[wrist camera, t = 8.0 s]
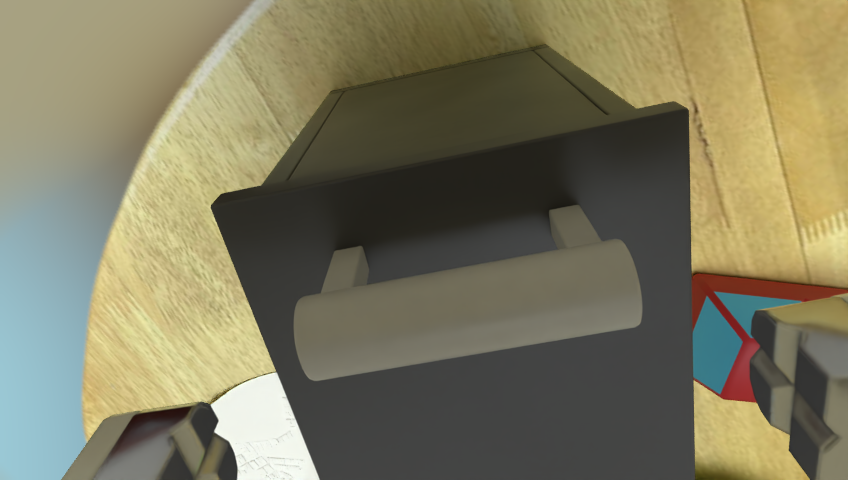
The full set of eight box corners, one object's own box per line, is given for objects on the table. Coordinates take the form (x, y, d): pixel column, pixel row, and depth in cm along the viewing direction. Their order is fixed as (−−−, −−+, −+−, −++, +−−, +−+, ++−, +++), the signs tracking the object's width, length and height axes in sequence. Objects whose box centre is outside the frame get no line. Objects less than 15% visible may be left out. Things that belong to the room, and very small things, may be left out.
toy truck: (691, 270, 33) (750, 340, 27) (946, 298, 33) (1059, 372, 27) (662, 349, 35) (710, 430, 29) (900, 374, 36) (996, 458, 30)
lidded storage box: (330, 91, 28) (231, 223, 14) (546, 43, 27) (676, 134, 13) (390, 305, 34) (363, 559, 19) (573, 273, 33) (685, 514, 18)
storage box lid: (220, 193, 14) (130, 292, 10) (675, 99, 13) (794, 165, 9) (363, 560, 19) (344, 723, 15) (686, 516, 18) (761, 677, 14)
